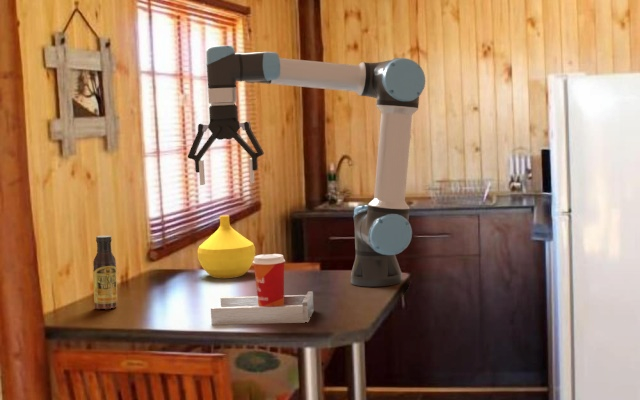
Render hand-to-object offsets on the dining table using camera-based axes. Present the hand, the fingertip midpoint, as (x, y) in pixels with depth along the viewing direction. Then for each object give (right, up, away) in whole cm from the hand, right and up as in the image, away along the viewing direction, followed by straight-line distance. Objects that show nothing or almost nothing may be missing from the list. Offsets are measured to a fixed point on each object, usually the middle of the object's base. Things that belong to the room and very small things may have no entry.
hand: (227, 183), depth 253 cm
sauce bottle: (-34, -34, +5) cm, 48 cm away
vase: (-4, -29, +47) cm, 55 cm away
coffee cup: (+13, -34, -16) cm, 39 cm away
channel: (+11, -34, -16) cm, 39 cm away
